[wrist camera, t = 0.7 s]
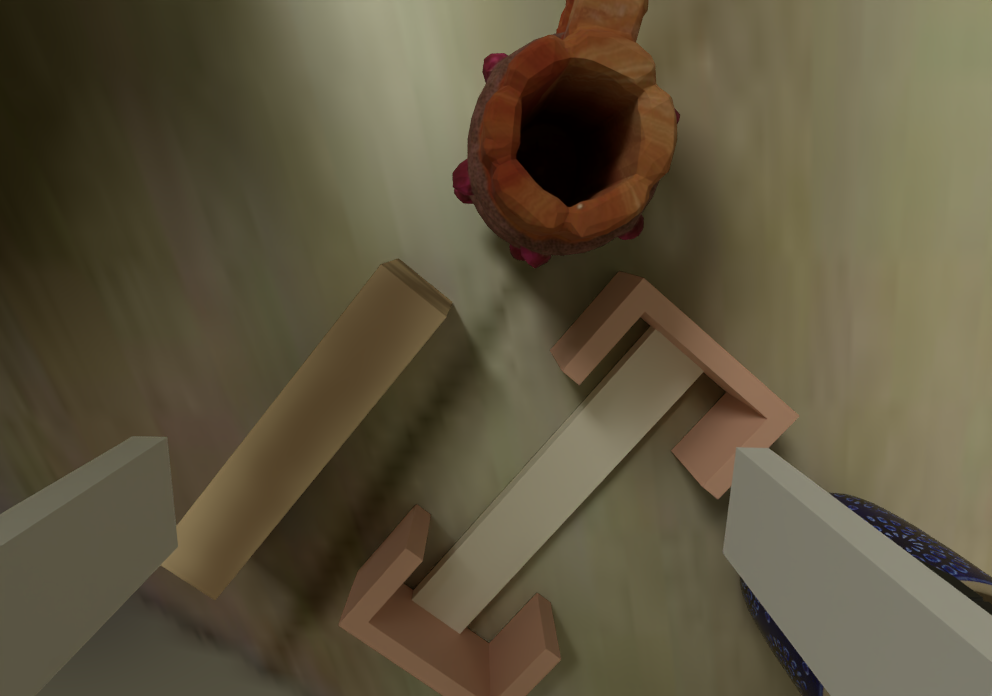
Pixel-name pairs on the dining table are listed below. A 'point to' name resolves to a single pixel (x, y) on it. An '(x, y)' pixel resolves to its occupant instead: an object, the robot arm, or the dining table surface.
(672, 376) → the endcap rail
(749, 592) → the planter
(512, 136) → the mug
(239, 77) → the dining table surface
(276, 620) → the dining table surface
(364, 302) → the tan wooden beam
